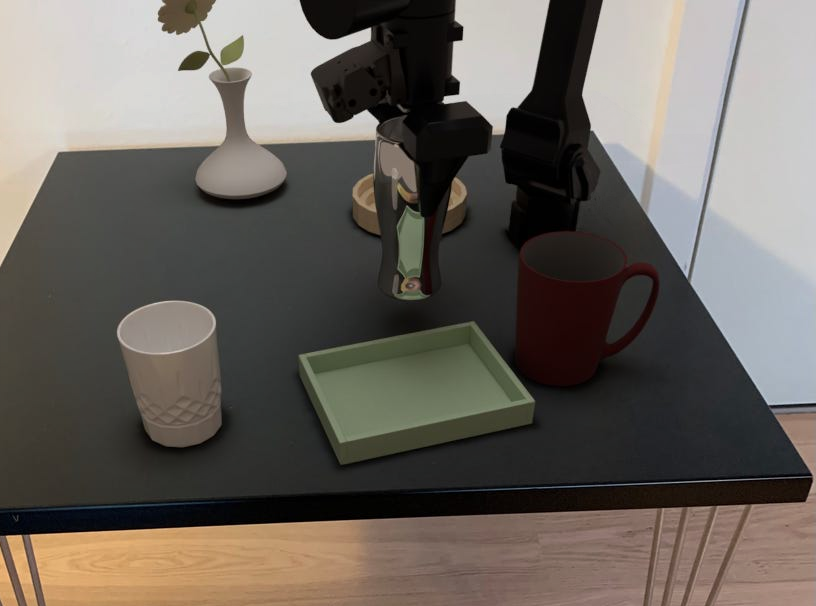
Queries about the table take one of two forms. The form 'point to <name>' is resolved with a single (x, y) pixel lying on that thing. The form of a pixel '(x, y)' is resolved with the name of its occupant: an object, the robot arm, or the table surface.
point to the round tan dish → (368, 216)
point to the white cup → (174, 370)
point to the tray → (413, 391)
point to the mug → (571, 305)
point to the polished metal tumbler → (404, 221)
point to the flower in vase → (238, 154)
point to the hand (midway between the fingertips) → (412, 198)
